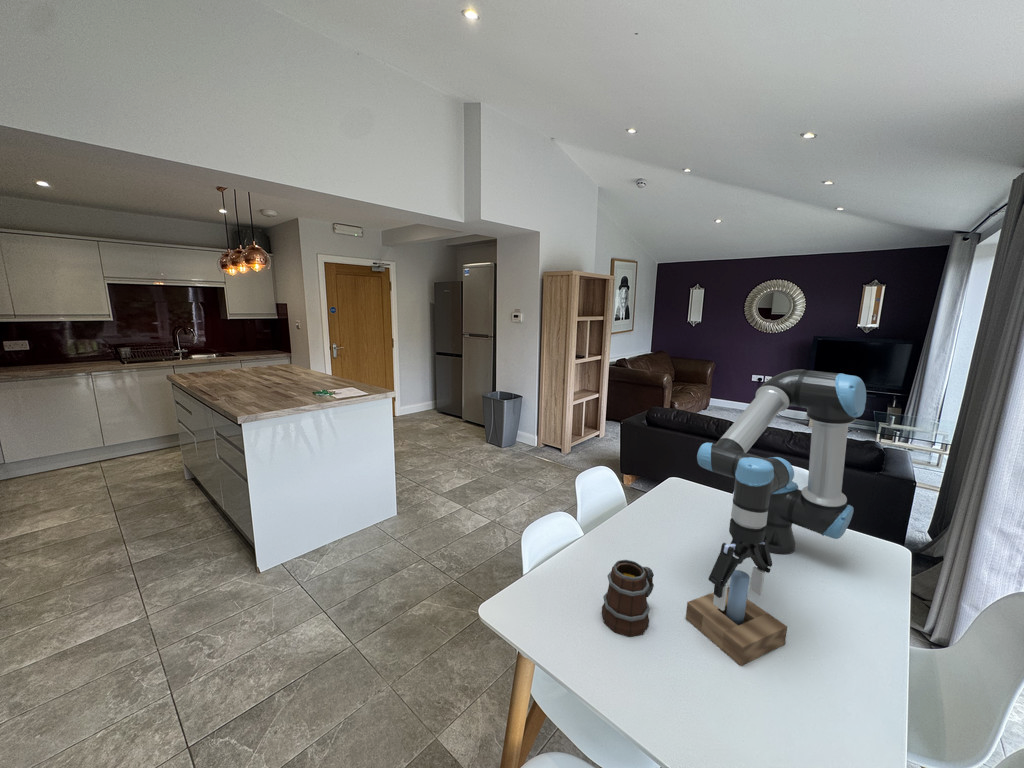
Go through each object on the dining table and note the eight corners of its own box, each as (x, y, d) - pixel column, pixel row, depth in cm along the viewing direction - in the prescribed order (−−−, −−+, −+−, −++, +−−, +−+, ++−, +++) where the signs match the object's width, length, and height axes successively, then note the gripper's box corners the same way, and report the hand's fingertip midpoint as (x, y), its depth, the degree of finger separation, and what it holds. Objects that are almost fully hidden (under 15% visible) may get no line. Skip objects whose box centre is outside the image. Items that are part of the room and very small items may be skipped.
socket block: (727, 602, 115) (729, 586, 114) (784, 644, 101) (787, 626, 100) (685, 618, 108) (687, 602, 107) (740, 666, 94) (743, 647, 93)
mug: (627, 644, 100) (632, 589, 97) (592, 613, 110) (595, 562, 107) (668, 619, 108) (673, 568, 105) (632, 593, 118) (636, 545, 115)
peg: (731, 623, 107) (738, 568, 104) (745, 634, 103) (753, 577, 101) (720, 628, 105) (727, 572, 103) (734, 639, 102) (742, 581, 99)
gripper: (766, 505, 108) (756, 578, 111) (698, 524, 97) (689, 603, 101) (796, 519, 101) (784, 595, 105) (725, 540, 91) (715, 624, 94)
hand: (737, 599), depth 103 cm, fingers open, 13 cm apart
